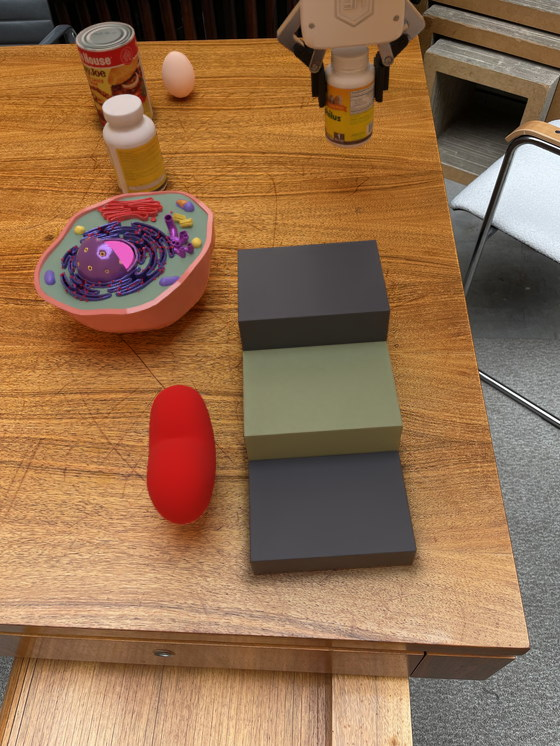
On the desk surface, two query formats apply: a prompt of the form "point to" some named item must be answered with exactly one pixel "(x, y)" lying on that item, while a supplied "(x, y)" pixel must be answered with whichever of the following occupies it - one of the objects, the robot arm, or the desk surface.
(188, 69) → the egg
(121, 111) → the pill bottle
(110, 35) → the canned food
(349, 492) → the tiered shelf
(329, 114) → the supplement bottle
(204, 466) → the red kidney model
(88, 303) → the cell model
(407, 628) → the desk surface
